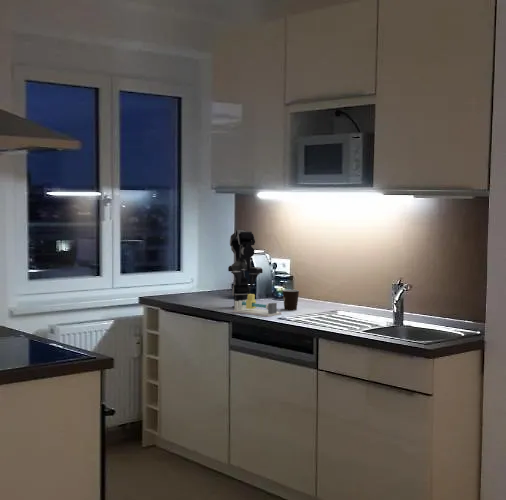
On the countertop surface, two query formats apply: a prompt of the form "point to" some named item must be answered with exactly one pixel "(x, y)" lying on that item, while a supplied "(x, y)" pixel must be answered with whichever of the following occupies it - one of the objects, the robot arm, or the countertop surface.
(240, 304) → the cable comb
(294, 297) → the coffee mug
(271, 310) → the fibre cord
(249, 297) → the sleeve
